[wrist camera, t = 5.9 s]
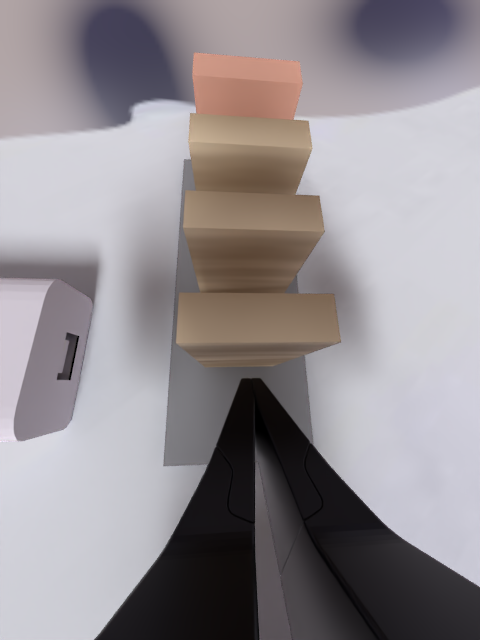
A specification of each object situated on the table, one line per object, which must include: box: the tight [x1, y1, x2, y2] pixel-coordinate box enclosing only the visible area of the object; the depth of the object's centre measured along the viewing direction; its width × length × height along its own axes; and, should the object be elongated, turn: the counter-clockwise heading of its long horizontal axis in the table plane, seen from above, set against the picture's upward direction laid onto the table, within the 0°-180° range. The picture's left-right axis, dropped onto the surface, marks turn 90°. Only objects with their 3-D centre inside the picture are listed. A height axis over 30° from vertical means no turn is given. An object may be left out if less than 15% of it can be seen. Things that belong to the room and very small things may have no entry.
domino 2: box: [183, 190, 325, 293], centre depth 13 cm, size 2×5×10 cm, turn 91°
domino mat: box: [163, 159, 313, 466], centre depth 18 cm, size 26×10×1 cm, turn 1°
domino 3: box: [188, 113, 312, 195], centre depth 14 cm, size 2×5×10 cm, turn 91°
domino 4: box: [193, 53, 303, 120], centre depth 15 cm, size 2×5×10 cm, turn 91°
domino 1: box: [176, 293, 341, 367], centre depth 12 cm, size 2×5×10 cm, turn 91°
